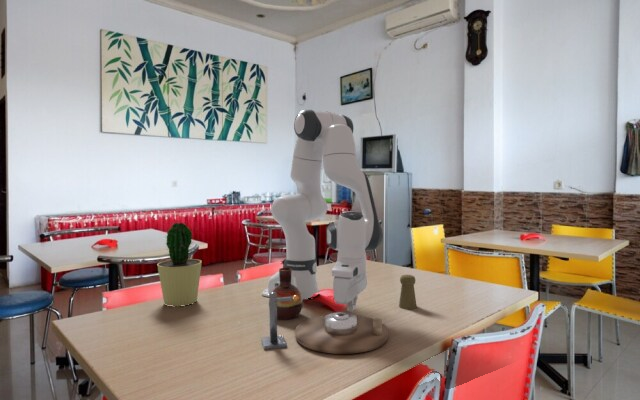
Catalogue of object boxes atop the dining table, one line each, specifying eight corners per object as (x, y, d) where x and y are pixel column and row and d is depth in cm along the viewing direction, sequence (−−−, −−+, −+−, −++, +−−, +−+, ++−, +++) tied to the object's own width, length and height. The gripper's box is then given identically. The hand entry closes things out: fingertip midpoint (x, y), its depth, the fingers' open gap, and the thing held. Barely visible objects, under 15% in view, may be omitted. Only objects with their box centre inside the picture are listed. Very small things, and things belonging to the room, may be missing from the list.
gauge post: (264, 349, 106) (263, 296, 105) (261, 341, 112) (260, 290, 111) (301, 345, 109) (300, 293, 108) (296, 337, 114) (296, 287, 114)
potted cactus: (166, 312, 138) (164, 224, 137) (152, 302, 150) (150, 221, 149) (209, 303, 148) (207, 221, 147) (192, 294, 160) (191, 218, 159)
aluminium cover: (320, 333, 112) (319, 317, 111) (331, 322, 120) (331, 308, 120) (351, 337, 108) (351, 321, 108) (360, 326, 117) (360, 311, 116)
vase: (309, 313, 135) (308, 267, 134) (290, 323, 125) (289, 274, 125) (282, 308, 141) (281, 264, 140) (261, 318, 131) (261, 270, 130)
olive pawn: (417, 309, 138) (416, 277, 137) (398, 308, 139) (398, 276, 138) (416, 304, 144) (416, 273, 143) (399, 303, 145) (398, 273, 144)
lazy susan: (278, 344, 108) (278, 324, 108) (317, 314, 132) (317, 298, 132) (373, 360, 98) (373, 338, 97) (397, 325, 122) (397, 307, 121)
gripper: (353, 258, 135) (353, 299, 136) (329, 271, 116) (329, 319, 117) (371, 260, 132) (371, 302, 133) (350, 273, 114) (350, 322, 114)
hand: (351, 310), depth 125 cm, fingers closed
